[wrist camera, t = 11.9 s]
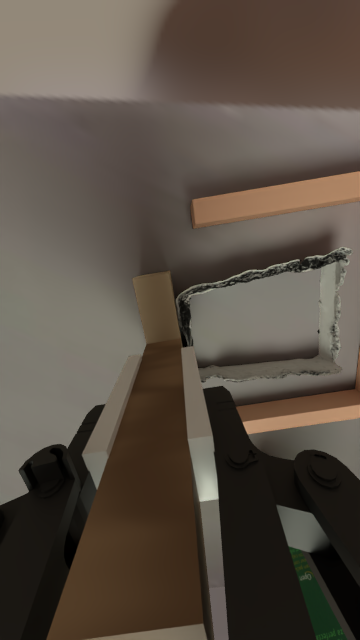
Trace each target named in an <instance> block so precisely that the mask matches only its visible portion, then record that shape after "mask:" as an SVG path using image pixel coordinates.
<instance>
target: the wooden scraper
mask: <svg viewBox="0 0 360 640" xmlns="http://www.w3.org/2000/svg"><path fill="white" fill-rule="evenodd" d="M132 280H133V285H134V289H135V294H136V298H137V303H138V307H139V312H140V316H141V321H142V325H143V330H144V334H145V339H146V343H147V344H146V347H145V350H144V353H143V356H142V361H141V364H140V367H139V370H138V373H137V376H136V378H135V381H134V384H133V387H132V390H131V393H130V396H129V399H128V402H127V405H126V408H125V411H124V414H123V417H122V420H121V423H120V426H119V429H118V432H117V435H116V438H115V441H114V444H113V446H112V449H111V452H110V455H109V458H108V459H107V462H106V465H105V468H104V471H103V474H102V477H101V480H100V483H99V486H98V489H97V492H96V495H95V498H94V501H93V504H92V506H91V509H90V512H89V515H88V518H87V521H86V524H85V527H84V530H83V533H82V536H81V539H80V542H79V545H78V548H77V551H76V554H75V557H74V560H73V562H72V565H71V568H70V571H69V574H68V577H67V580H66V583H65V586H64V589H63V592H62V595H61V598H60V601H59V604H58V607H57V610H56V613H55V616H54V618H53V621H52V624H51V627H50V630H49V633H48V636H47V639H46V640H214V633H213V623H212V614H211V605H210V594H209V585H208V575H207V566H206V557H205V547H204V538H203V528H202V519H201V509H200V501H199V496H198V491H197V485H196V480H195V475H194V470H193V464H192V459H191V454H190V448H189V443H188V436H187V422H186V408H185V395H184V381H183V367H182V354H181V348H183V344H182V338H181V332H180V326H179V320H178V314H177V309H176V303H175V297H174V291H173V285H172V279H171V273H170V271H165V272H159V273H153V274H147V275H141V276H137V277H135V278H132Z"/></svg>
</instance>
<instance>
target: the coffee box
mask: <svg viewBox="0 0 360 640" xmlns="http://www.w3.org/2000/svg"><path fill="white" fill-rule="evenodd" d="M289 549H290V553H291V556H292V559H293V563H294V566H295V569H296V573H297V576H298V579H299V583H300V586H301V589H302V593H303V596H304V599H305V603H306V606H307V609H308V613H309V616H310V619H311V622H312V626H313V629H314V632H315V636H316V639H317V640H348V639H347V638H346V636H345V634H344V632H343V630H342V628H341V626H340V624H339V622H338V620H337V618H336V616H335V615H334V613H333V611H332V609H331V607H330V605H329V603H328V601H327V599H326V597H325V595H324V593H323V592H322V590H321V588H320V586H319V584H318V582H317V580H316V578H315V576H314V574H313V572H312V571H311V569H310V567H309V565H308V563H307V561H306V559H305V557H304V555H303V553H302V551H301V550H300V549H296V548H293V547H290V546H289Z"/></svg>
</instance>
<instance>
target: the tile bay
mask: <svg viewBox="0 0 360 640" xmlns="http://www.w3.org/2000/svg"><path fill="white" fill-rule="evenodd" d="M357 201H360V171H358V172H352V173H346V174H340V175H334V176H328V177H322V178H317V179H311V180H305V181H299V182H293V183H287V184H281V185H275V186H269V187H263V188H258V189H252V190H246V191H240V192H234V193H228V194H222V195H216V196H210V197H204V198H199V199H193V200H192V203H191V206H190V209H191V217H192V225H193V229H195V228H201V227H207V226H213V225H219V224H225V223H231V222H237V221H243V220H249V219H255V218H261V217H267V216H273V215H279V214H285V213H291V212H297V211H303V210H309V209H315V208H321V207H327V206H333V205H339V204H345V203H351V202H357ZM236 409H237V410H238V413H239V415H240V418H241V420H242V422H243V425H244V427H245V430H246V432H247V434H252V433H259V432H266V431H273V430H280V429H287V428H294V427H301V426H308V425H314V424H321V423H328V422H335V421H342V420H349V419H356V418H360V349H359V358H358V367H357V376H356V385H355V389H352V390H345V391H338V392H332V393H325V394H318V395H311V396H305V397H298V398H291V399H284V400H278V401H271V402H264V403H257V404H251V405H244V406H237V407H236Z"/></svg>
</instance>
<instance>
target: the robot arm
mask: <svg viewBox="0 0 360 640" xmlns="http://www.w3.org/2000/svg"><path fill="white" fill-rule="evenodd" d="M181 354H182V367H183V381H184V395H185V408H186V422H187V436H188V443H189V448H190V454H191V459H192V464H193V470H194V475H195V480H196V485H197V491H198V496H199V501H207V500H214V499H219V511H220V525H221V539H222V553H223V567H224V581H225V594H226V608H227V622H228V635H229V640H317V639H316V636H315V632H314V629H313V626H312V622H311V619H310V616H309V613H308V609H307V606H306V603H305V599H304V596H303V593H302V589H301V586H300V583H299V579H298V576H297V573H296V569H295V566H294V563H293V559H292V556H291V553H290V549H289V546H290V547H293V548H296V549H300V550H301V551H302V553H303V555H304V557H305V559H306V561H307V563H308V565H309V567H310V569H311V571H312V572H313V574H314V576H315V578H316V580H317V582H318V584H319V586H320V588H321V590H322V592H323V593H324V595H325V597H326V599H327V601H328V603H329V605H330V607H331V609H332V611H333V613H334V615H335V616H336V618H337V620H338V622H339V624H340V626H341V628H342V630H343V632H344V634H345V636H346V638H347V639H348V640H360V480H359V479H358V478H357V477H356V476H355V475H354V474H353V473H352V472H351V471H350V470H349V469H348V468H347V467H346V466H345V465H344V464H343V463H342V462H340V461H339V460H338V459H337V458H335V457H333V456H331V455H329V454H327V453H325V452H321V451H317V450H304V451H302V452H300V453H299V454H297V456H296V458H295V460H288V459H282V458H276V457H273V456H269V455H267V454H265V453H263V452H261V451H260V450H259V449H257V448H256V447H255V446H254V445H253V444H252V442H251V441H250V439H249V437H248V434H247V432H246V430H245V427H244V425H243V422H242V420H241V418H240V415H239V413H238V410H237V409H236V406H235V403H234V402H233V399H232V396H231V394H230V392H229V391H228V390H227V389H226V388H224V387H223V386H219V387H212V388H205V389H202V384H201V379H200V375H199V370H198V366H197V361H196V356H195V352H194V347H193V346H191V347H184V348H181ZM141 361H142V357H141V354H139V355H133V356H129V357H128V359H127V361H126V363H125V365H124V367H123V369H122V371H121V374H120V376H119V378H118V380H117V382H116V384H115V386H114V388H113V390H112V392H111V395H110V397H109V399H108V401H107V403H106V404H104V405H97V406H95V407H94V408H93V409H92V410H91V411H90V412H89V413H88V414H87V415H86V417H85V419H84V420H83V422H82V425H81V426H80V427H79V429H78V431H77V434H75V436H74V438H73V440H72V442H71V443H70V445H69V447H68V449H67V448H66V446H64V445H62V444H56V445H51V446H49V447H46V448H44V449H42V450H40V451H39V452H37V453H35V454H34V455H33V456H32V457H30V458H29V459H28V460H27V461H26V462H25V463H24V464H23V465H22V467H21V468H20V469H19V470H18V471H19V473H20V475H21V476H22V478H23V480H24V482H25V484H26V486H27V488H28V490H29V492H28V493H27V494H25V495H23V496H21V497H18V498H16V499H14V500H11V501H9V502H7V503H5V504H2V505H0V640H46V639H47V636H48V633H49V630H50V627H51V624H52V621H53V618H54V616H55V613H56V610H57V607H58V604H59V601H60V598H61V595H62V592H63V589H64V586H65V583H66V580H67V577H68V574H69V571H70V568H71V565H72V562H73V560H74V557H75V554H76V551H77V548H78V545H79V542H80V539H81V536H82V533H83V530H84V527H85V524H86V521H87V518H88V515H89V512H90V509H91V506H92V504H93V501H94V498H95V495H96V492H97V489H98V486H99V483H100V480H101V477H102V474H103V471H104V468H105V465H106V462H107V459H108V458H109V455H110V452H111V449H112V446H113V444H114V441H115V438H116V435H117V432H118V429H119V426H120V423H121V420H122V417H123V414H124V411H125V408H126V405H127V402H128V399H129V396H130V393H131V390H132V387H133V384H134V381H135V378H136V376H137V373H138V370H139V367H140V364H141Z"/></svg>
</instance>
